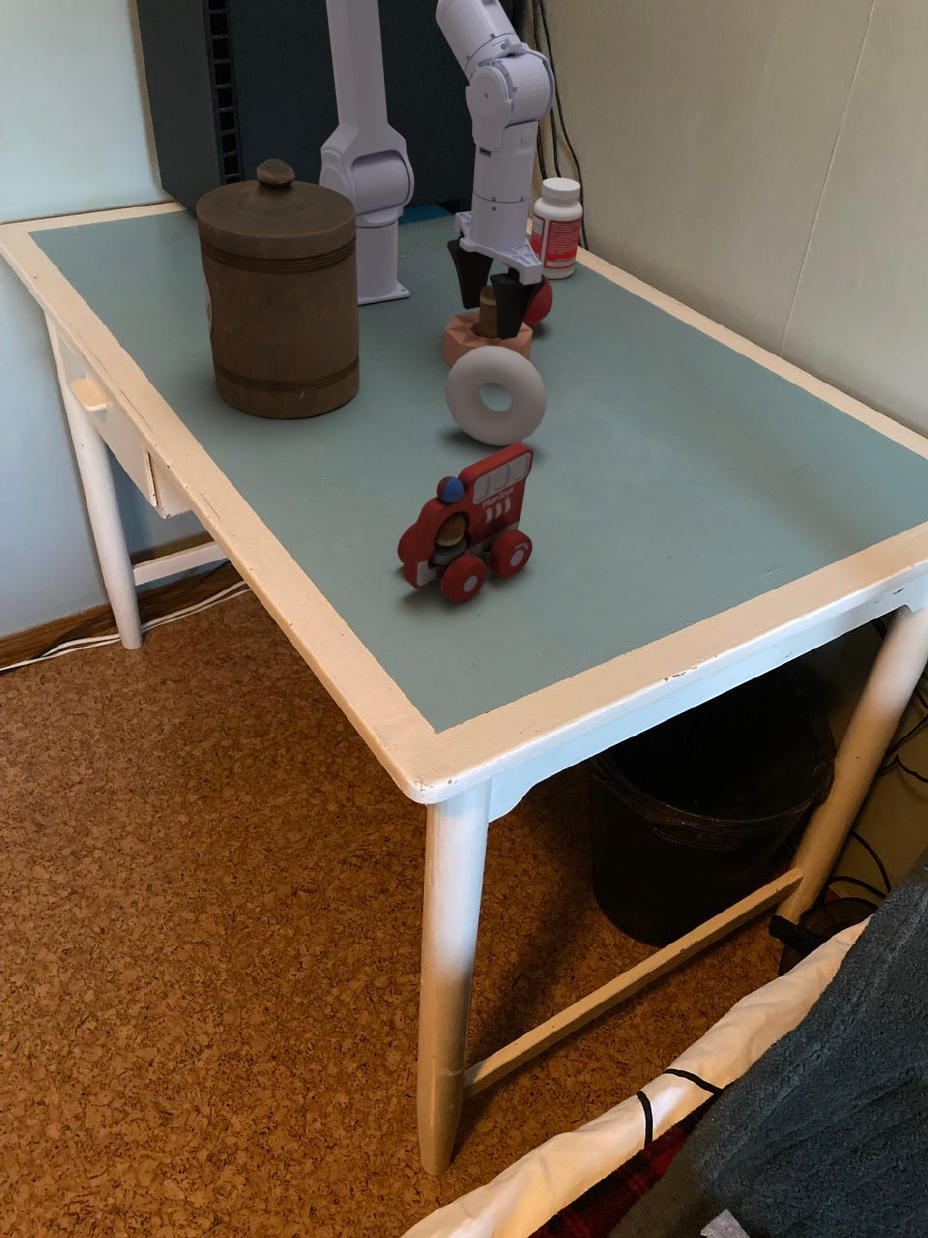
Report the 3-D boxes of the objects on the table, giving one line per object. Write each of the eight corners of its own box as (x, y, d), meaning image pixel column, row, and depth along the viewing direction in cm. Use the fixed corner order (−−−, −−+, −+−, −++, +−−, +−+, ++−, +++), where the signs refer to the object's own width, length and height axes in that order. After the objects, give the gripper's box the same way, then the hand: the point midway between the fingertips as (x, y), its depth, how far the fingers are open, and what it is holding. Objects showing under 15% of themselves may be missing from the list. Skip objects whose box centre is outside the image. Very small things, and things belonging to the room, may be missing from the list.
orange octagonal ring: (432, 347, 109) (433, 318, 106) (500, 334, 112) (503, 305, 110) (470, 385, 103) (473, 355, 101) (541, 369, 107) (545, 340, 104)
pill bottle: (581, 269, 128) (595, 182, 120) (560, 284, 124) (572, 196, 116) (540, 257, 130) (551, 171, 122) (518, 271, 126) (528, 183, 118)
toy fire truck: (378, 577, 79) (379, 471, 72) (487, 521, 86) (498, 420, 79) (433, 623, 76) (440, 516, 69) (543, 561, 82) (559, 458, 75)
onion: (549, 319, 116) (558, 254, 111) (547, 341, 112) (556, 274, 106) (501, 314, 116) (507, 248, 111) (497, 336, 112) (504, 268, 107)
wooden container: (273, 336, 108) (258, 125, 93) (385, 374, 104) (388, 159, 89) (185, 391, 98) (152, 165, 83) (305, 436, 94) (293, 205, 79)
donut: (544, 444, 96) (557, 352, 89) (534, 462, 93) (547, 368, 86) (449, 421, 97) (455, 329, 91) (437, 438, 95) (443, 344, 88)
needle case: (471, 355, 108) (476, 287, 103) (490, 352, 109) (496, 283, 104) (481, 366, 106) (488, 296, 101) (501, 362, 107) (508, 293, 102)
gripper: (432, 172, 98) (426, 299, 108) (503, 224, 89) (491, 358, 99) (491, 165, 101) (481, 290, 110) (567, 215, 92) (548, 346, 101)
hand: (489, 321), depth 105 cm, fingers open, 7 cm apart
